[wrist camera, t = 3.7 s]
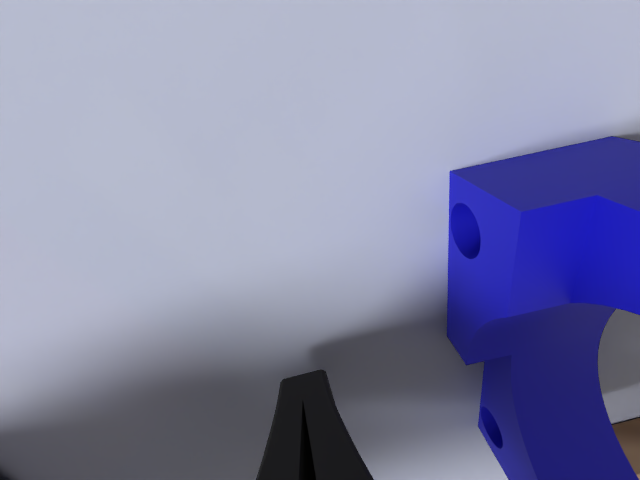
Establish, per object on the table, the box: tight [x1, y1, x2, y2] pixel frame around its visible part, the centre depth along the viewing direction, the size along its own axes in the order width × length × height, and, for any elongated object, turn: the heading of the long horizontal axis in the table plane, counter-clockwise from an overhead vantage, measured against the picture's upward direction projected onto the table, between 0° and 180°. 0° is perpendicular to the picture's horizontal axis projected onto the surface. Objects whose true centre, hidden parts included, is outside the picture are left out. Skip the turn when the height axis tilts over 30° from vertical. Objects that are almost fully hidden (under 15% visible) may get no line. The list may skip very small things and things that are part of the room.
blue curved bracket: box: [447, 136, 640, 480], centre depth 9 cm, size 12×4×6 cm, turn 10°
